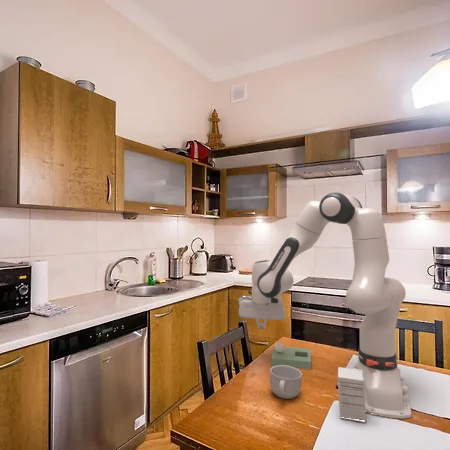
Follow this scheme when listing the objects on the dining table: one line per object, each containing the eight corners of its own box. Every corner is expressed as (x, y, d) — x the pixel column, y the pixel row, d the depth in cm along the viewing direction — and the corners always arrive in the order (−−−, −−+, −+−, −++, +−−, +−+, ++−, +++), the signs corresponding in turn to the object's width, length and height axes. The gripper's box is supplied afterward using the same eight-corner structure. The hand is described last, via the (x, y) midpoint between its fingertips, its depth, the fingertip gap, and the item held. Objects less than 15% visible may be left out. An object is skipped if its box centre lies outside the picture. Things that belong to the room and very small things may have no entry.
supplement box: (339, 405, 103) (337, 366, 103) (364, 409, 100) (363, 369, 100) (339, 419, 96) (337, 376, 96) (366, 423, 93) (364, 380, 93)
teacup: (277, 383, 118) (276, 361, 118) (306, 391, 112) (306, 368, 112) (261, 401, 106) (261, 377, 106) (293, 411, 100) (292, 385, 100)
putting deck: (311, 369, 129) (311, 361, 129) (271, 365, 133) (271, 358, 133) (310, 355, 142) (310, 348, 142) (274, 352, 146) (274, 345, 146)
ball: (284, 354, 136) (284, 345, 136) (274, 353, 137) (274, 344, 137) (284, 350, 140) (284, 341, 140) (275, 350, 141) (275, 341, 141)
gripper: (237, 297, 141) (237, 328, 141) (284, 300, 135) (284, 332, 136) (240, 294, 147) (240, 324, 147) (285, 296, 142) (285, 328, 142)
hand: (261, 328), depth 141 cm, fingers closed
